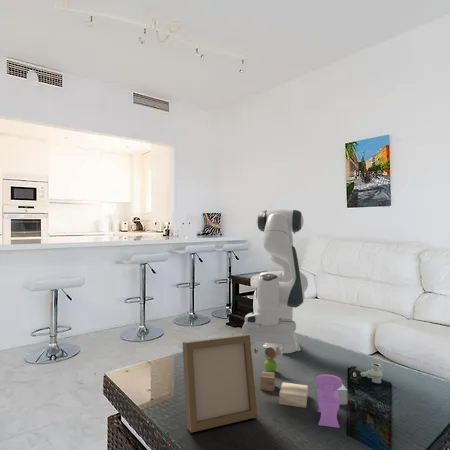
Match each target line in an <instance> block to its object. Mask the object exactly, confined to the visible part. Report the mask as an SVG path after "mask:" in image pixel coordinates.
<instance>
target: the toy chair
mask: <svg viewBox="0 0 450 450" xmlns="http://www.w3.org/2000/svg"><path fill="white" fill-rule="evenodd" d="M314 381H315V382H314V384H315V385H316V386H317V387H319V388H317V391H316V394H317V404H318V408H317V412H318V413H320V419H319V421H318V426H324V427H331V428H338V429H339V428H340V424H339V420H338V412H339V409H340V406H341V404H339V396H338V391H335V390H337V389H339V388H340V387H342V384H343V380H342V378H341V377H339V376H337V375H334V374H326V373H325V374H319V375H317V376H316V377H315V378H314Z"/></svg>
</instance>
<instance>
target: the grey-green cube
mask: <svg viewBox="0 0 450 450" xmlns="http://www.w3.org/2000/svg"><path fill="white" fill-rule="evenodd" d="M335 391H338V396H339V404H340V405H348V389H347V388H346V386H345V385H344V384H343V383H342V387H340V388H339V389H337V390H335Z"/></svg>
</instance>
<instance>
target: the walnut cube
mask: <svg viewBox="0 0 450 450" xmlns="http://www.w3.org/2000/svg"><path fill="white" fill-rule="evenodd" d="M259 378H260V380H259V381H260V383H259V385H260V388H259V389H260V391H268V392H275V389H276V388H275V386H276V372H268V371H263V370H262V371H261V374H260V377H259Z"/></svg>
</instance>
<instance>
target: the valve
mask: <svg viewBox="0 0 450 450" xmlns="http://www.w3.org/2000/svg"><path fill="white" fill-rule="evenodd" d="M350 369H351V370H349V374H350V377H349V378H350V379H351V380H352V383H353V382H354V383H353V384H360V380H361V378H362V377H363V378H364V377H367V378H368V379H370V378H371V382H372V383H375V384H381V383H382V377H383V371H382V364H380V363H375V362H374V363H371V369H366V370H365V371H360V370H359V369H357V366H355V365H353V366H352V365H351V366H350Z"/></svg>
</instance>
